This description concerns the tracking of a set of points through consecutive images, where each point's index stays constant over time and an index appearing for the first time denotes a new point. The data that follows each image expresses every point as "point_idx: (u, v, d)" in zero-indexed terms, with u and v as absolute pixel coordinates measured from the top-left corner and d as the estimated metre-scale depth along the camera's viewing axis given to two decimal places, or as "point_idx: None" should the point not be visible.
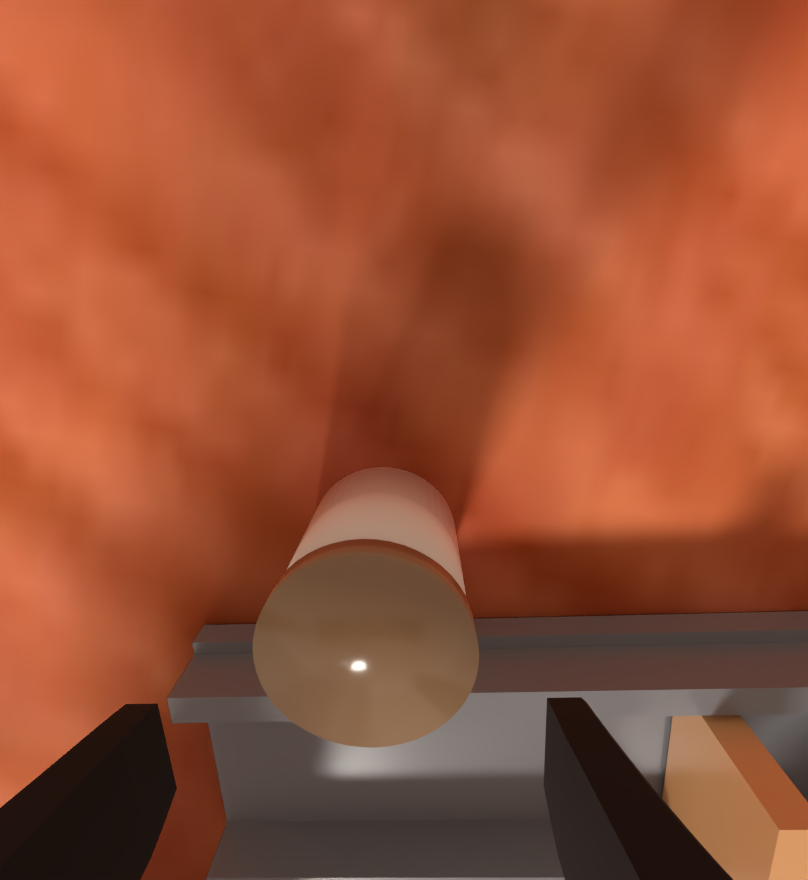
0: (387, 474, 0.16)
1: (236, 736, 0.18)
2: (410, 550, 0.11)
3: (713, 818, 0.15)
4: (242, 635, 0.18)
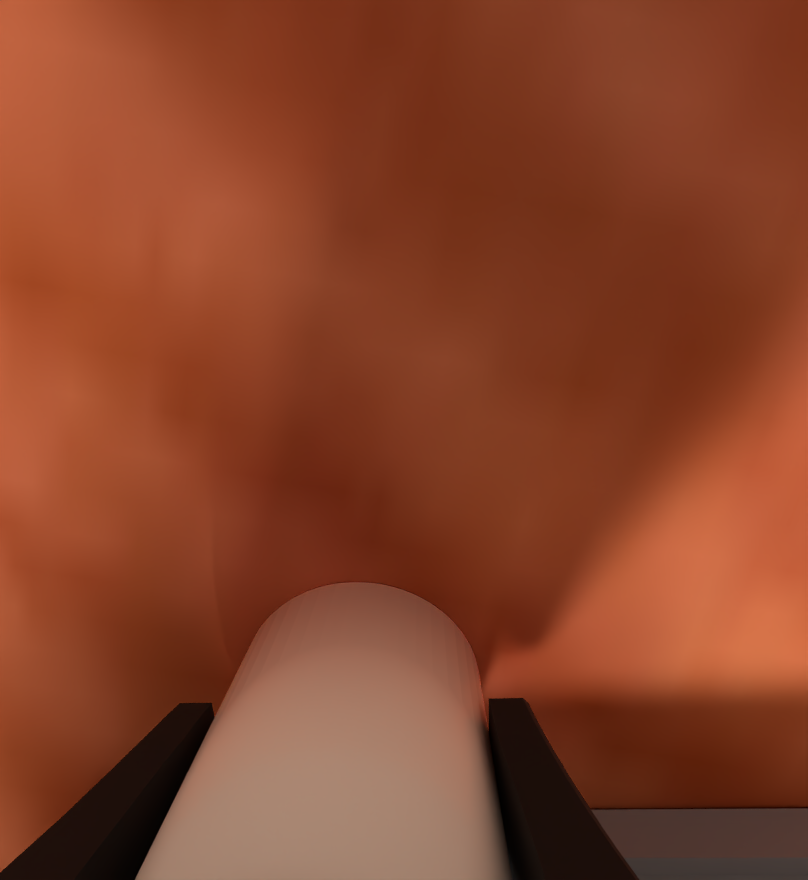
0: (364, 605, 0.09)
1: None
2: None
3: None
4: None
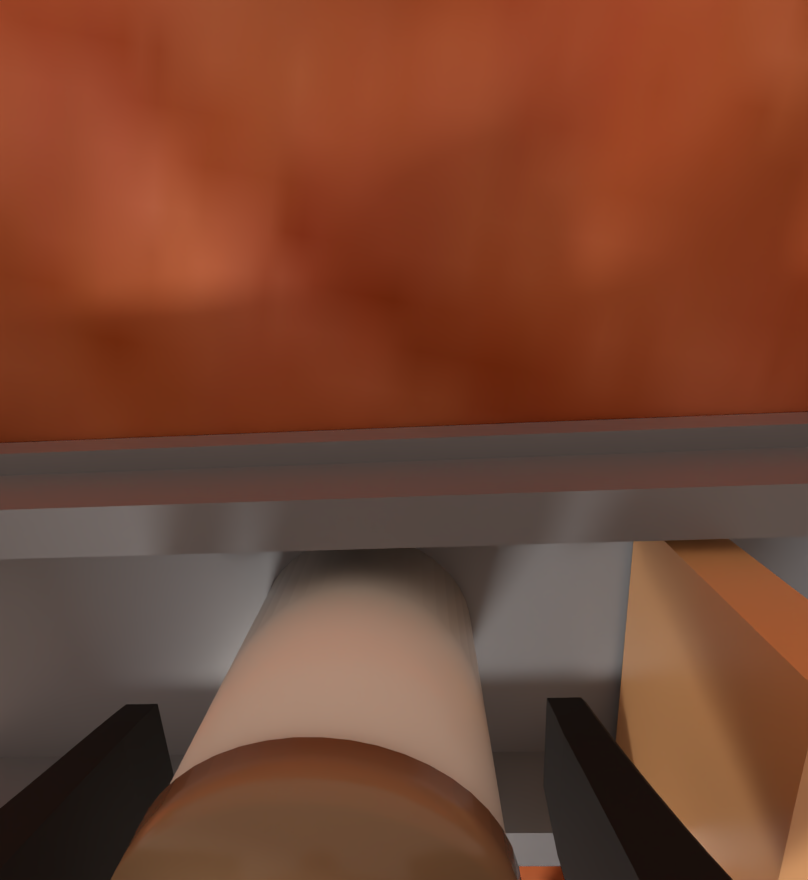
0: (362, 552, 0.10)
1: None
2: (389, 758, 0.06)
3: (690, 719, 0.09)
4: None
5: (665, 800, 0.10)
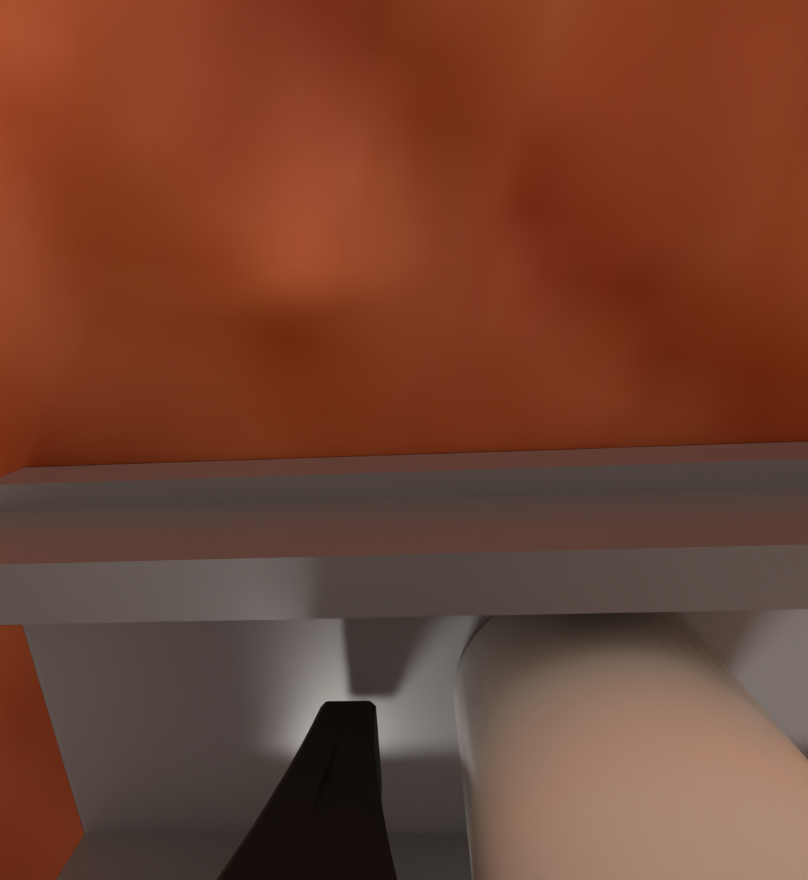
0: None
1: (86, 677, 0.10)
2: None
3: None
4: (85, 475, 0.09)
5: None
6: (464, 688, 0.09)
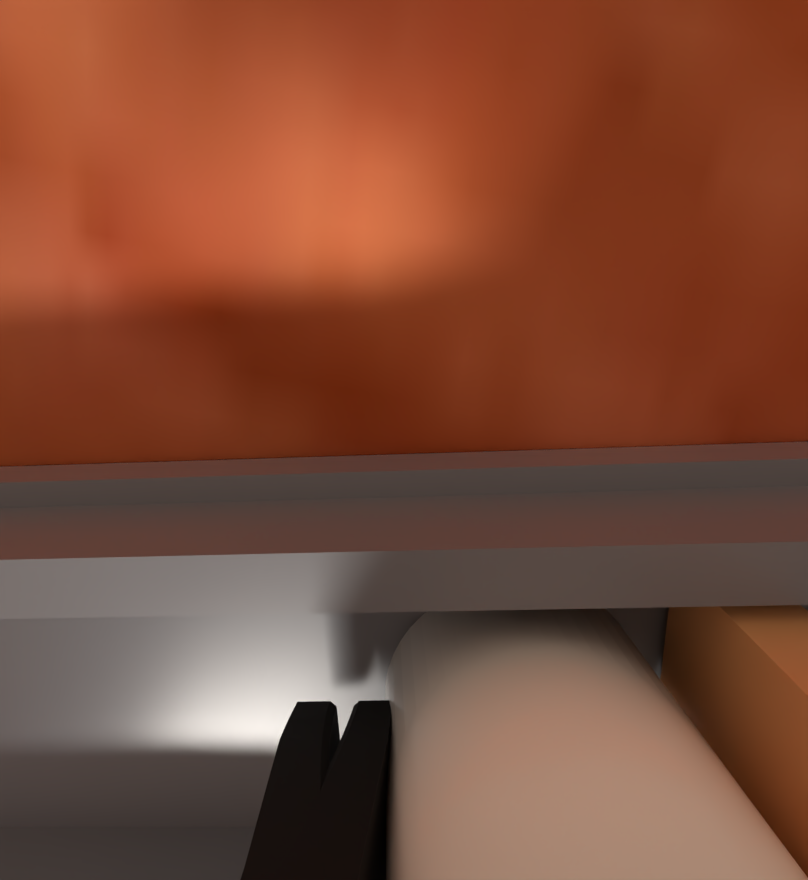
0: None
1: None
2: None
3: None
4: None
5: None
6: (389, 696, 0.09)
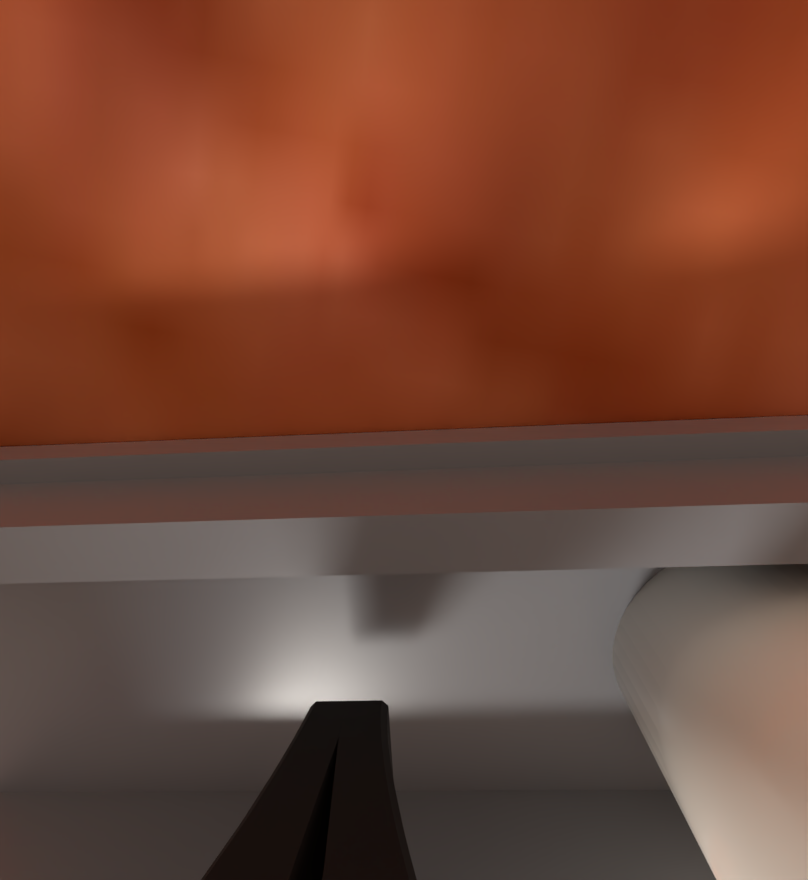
0: None
1: None
2: None
3: None
4: None
5: None
6: (634, 644, 0.09)
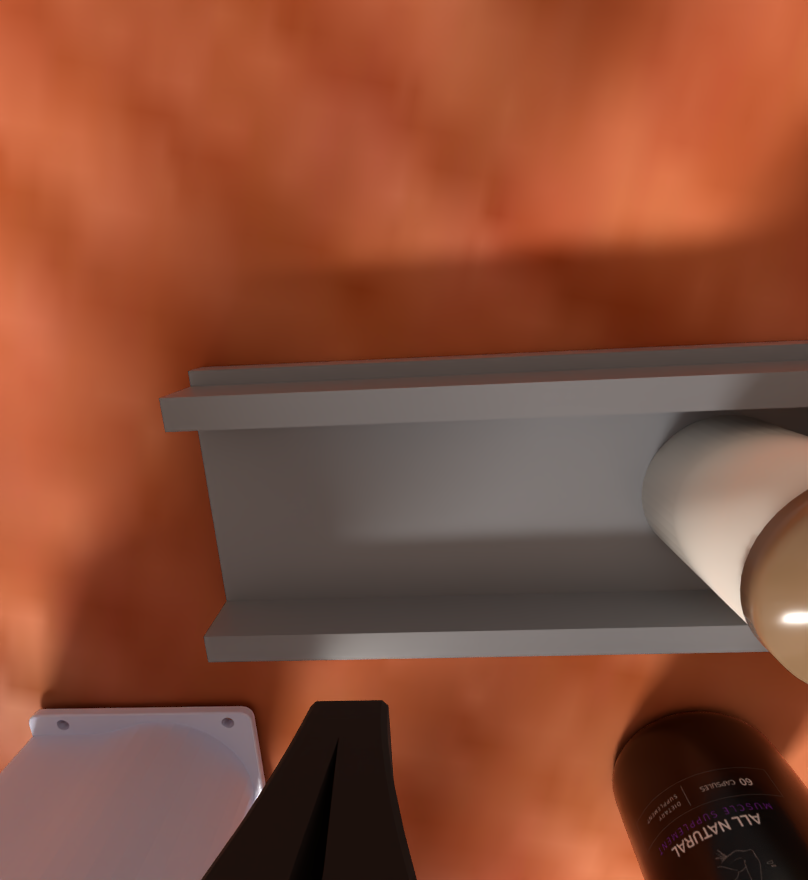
0: (744, 419, 0.15)
1: (237, 492, 0.17)
2: None
3: None
4: (243, 367, 0.16)
5: None
6: (656, 478, 0.15)
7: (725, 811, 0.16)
